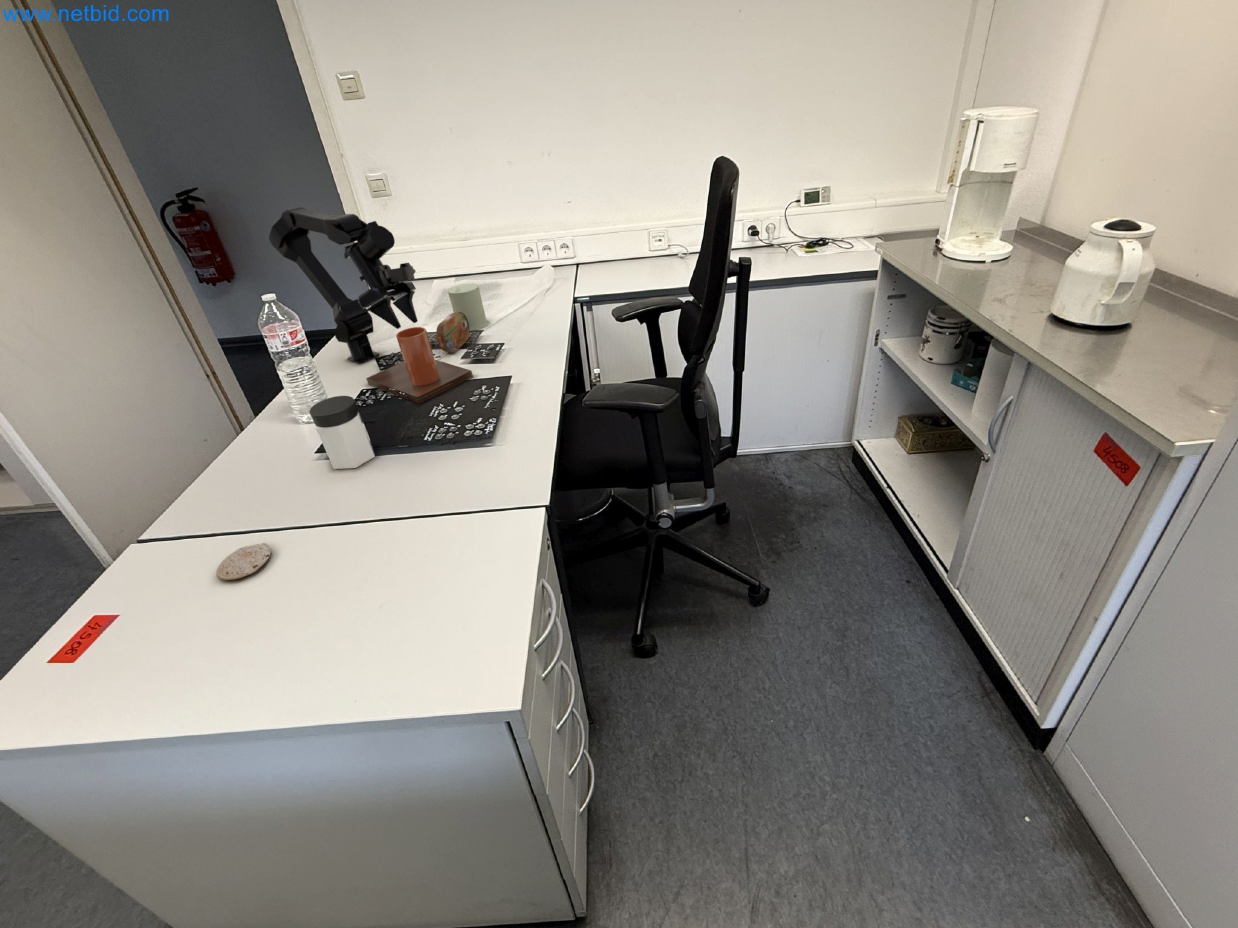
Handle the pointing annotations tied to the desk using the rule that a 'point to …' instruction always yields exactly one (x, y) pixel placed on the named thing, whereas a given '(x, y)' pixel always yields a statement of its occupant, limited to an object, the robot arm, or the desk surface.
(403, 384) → the board
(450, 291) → the can
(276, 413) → the desk surface
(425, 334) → the pen cup
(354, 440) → the jar
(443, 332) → the tin
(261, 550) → the flatbread
